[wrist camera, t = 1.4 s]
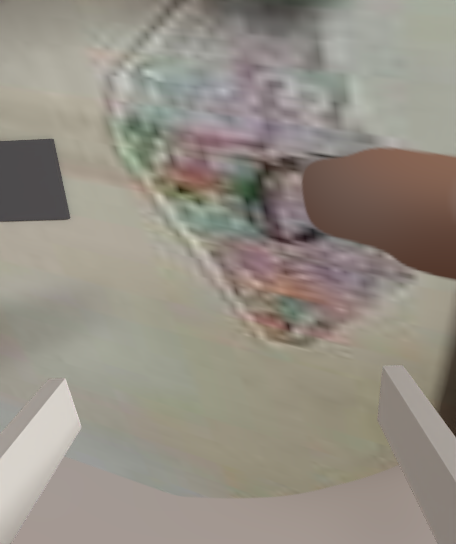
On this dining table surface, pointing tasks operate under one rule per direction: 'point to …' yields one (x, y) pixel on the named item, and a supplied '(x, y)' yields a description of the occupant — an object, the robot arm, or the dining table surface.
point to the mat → (31, 181)
